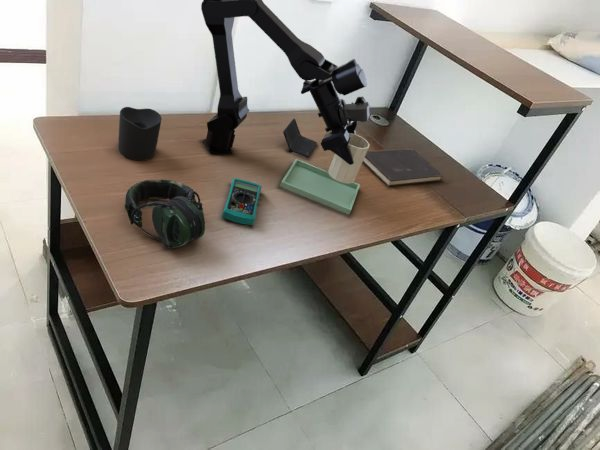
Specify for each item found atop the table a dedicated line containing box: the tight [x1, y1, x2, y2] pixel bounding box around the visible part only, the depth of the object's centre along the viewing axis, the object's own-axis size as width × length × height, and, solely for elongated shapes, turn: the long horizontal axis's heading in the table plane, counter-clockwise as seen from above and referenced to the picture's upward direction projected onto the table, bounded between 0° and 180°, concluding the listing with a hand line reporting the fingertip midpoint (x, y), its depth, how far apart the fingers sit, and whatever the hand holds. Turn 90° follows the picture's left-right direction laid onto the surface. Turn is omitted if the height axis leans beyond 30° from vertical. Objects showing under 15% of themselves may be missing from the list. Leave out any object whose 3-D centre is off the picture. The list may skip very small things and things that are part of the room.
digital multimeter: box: [221, 177, 262, 226], centre depth 121 cm, size 7×15×3 cm, turn 177°
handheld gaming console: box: [282, 118, 318, 159], centre depth 152 cm, size 12×7×10 cm
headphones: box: [124, 178, 206, 249], centre depth 107 cm, size 13×13×20 cm
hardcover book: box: [362, 148, 444, 188], centre depth 161 cm, size 16×23×2 cm
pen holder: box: [117, 106, 163, 161], centre depth 124 cm, size 9×9×10 cm
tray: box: [279, 158, 361, 216], centre depth 138 cm, size 19×14×2 cm
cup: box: [327, 133, 371, 184], centre depth 131 cm, size 7×7×10 cm
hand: (354, 157), depth 131 cm, fingers closed on cup, 7 cm apart
